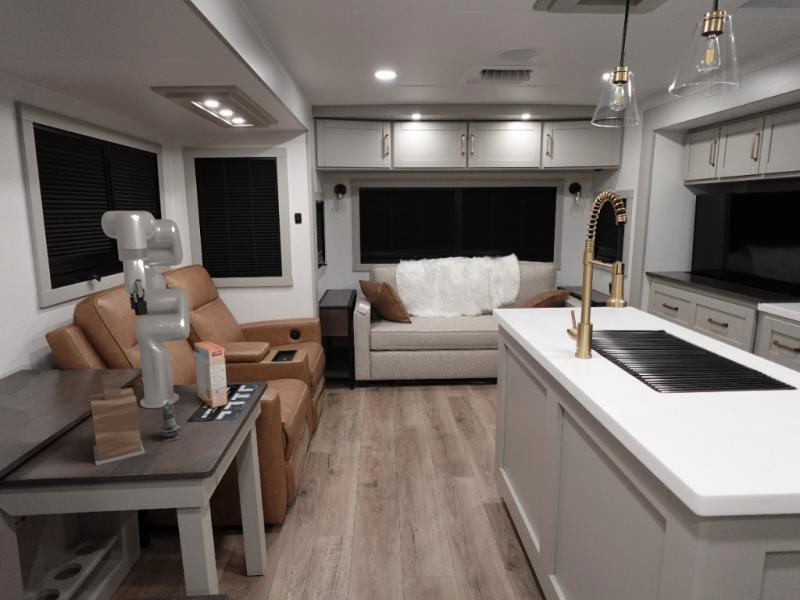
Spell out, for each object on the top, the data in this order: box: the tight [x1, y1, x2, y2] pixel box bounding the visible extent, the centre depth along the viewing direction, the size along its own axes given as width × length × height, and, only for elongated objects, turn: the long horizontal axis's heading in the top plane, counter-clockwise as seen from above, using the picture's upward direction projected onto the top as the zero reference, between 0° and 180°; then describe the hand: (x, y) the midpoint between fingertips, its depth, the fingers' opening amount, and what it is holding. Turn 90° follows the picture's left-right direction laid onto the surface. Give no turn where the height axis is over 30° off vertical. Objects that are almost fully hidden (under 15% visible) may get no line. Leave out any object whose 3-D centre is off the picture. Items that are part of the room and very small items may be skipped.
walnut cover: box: [89, 372, 142, 461], centre depth 142 cm, size 11×11×22 cm
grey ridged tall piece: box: [159, 401, 182, 443], centre depth 150 cm, size 6×6×12 cm
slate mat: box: [92, 441, 146, 466], centre depth 144 cm, size 12×12×1 cm
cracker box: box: [193, 340, 229, 409], centre depth 178 cm, size 14×6×21 cm, turn 41°
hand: (139, 311), depth 149 cm, fingers open, 9 cm apart
